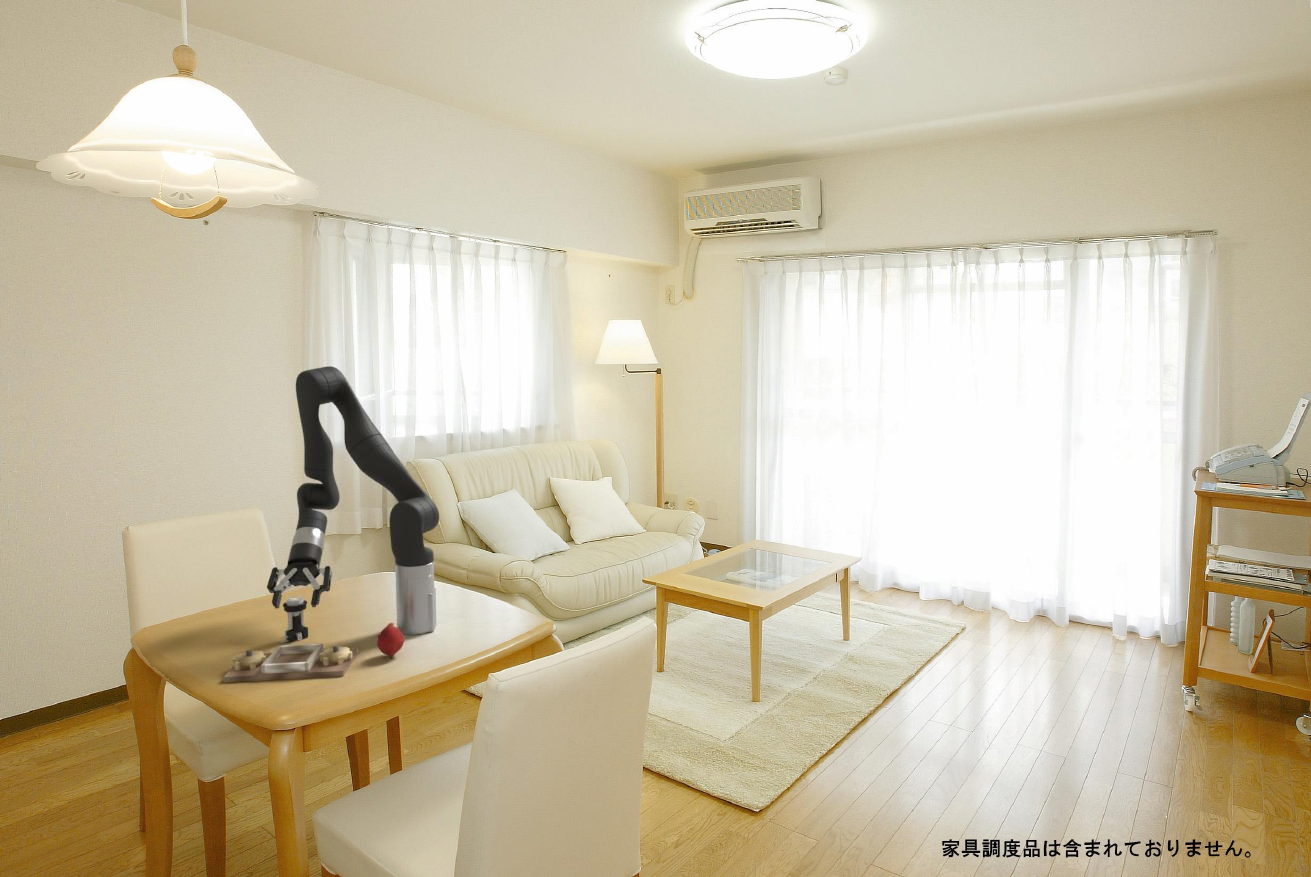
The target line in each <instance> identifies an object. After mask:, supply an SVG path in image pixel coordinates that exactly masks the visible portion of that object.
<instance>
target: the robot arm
mask: <svg viewBox="0 0 1311 877" xmlns="http://www.w3.org/2000/svg"><path fill="white" fill-rule="evenodd" d="M295 395H296V400H297V407H298V414H299V419H300V423H301V429H302V436H303V446H304V448H303V450H304V451H303V452H304V458H303V459H304V460H303V461H304V464H303V470H304V474H305V476H306V477H307V478H309V479H312V480H313V481H318V483H317V482H316V483H315V482H305V483H302V484H301V485H300V486H299V487H298V488H297V492H296V501H297V507H298V520H297V524H296V529H295V533H294V536H293V539H292V542H291V546H290V551H289V553H288V554H289V556H288V558H287V565H286V566H285V568H283V569H282V568H281V569H280V568H279V569H278V567H272V569H271V572H270V574H269V579H268V582H267V585H266V588H267V590H268V592H269V593H270V594H273V595H272V600H271V604H272V606H273V607H274V609H280V606H281V602H282V597H283V595H282V594H283V593H285V591H287V590H289V589H290V588H291V587H299V586H303V587H308V586H309V585H311V587H312V589H314V590H313V592H312V595H311V601H310V605H311V607H312V608H316V607H317V606H319V604H320V600H321V595H322V594H323V593H324V592H327V593H328V592H330V590H331V584H332V577H333V575H332V574H333V571H332V569H331V566H330V565H326V566H325V567H321V568H320V565H321V560H322V557H323V551H324V549H325V536H326V531H327V525H328V517H327V515H326V514H325V513H324V512H321V511H319V510H322V511H323V510H324V511H330V510H334V509H336V507H338V505H339V503H340V499H341V498H340V490H339V487H338V484H337V482H336V478H335V474H334V446H333V443H332V440H331V439H330V437H329V435H328V434H327V432H326V430H325V429H324V427H323V426H322V424H321V421H320V415H319V414H320V405H325V404H330V403H332V404H333V405H334V406H335V408H337V410H338V412H339V414H340V415H341V417H342V420H343V428H344V431H343V432H344V433H343V434H344V440H343V441H344V447H345V449H346V451H347V453H348V454H349V456H350V457H351V459H352V460H353V462H354V463H355V465H356V466H357V467H358V469H359V470H360V471H361V472H362V473H363V474H364V475H365V476H367V477H368V478H370V479H372V480H373V481H375V482H376V483H378V484H379V485H380V486H382V487H384V488H385V489H386V490H387V491H389V492H390V493H391V494H392V496H393V497H394V498H395V500H396V501H397V503H395V504H394V505H393V507H392V508H391V510H390V513H389V537H390V547H391V552H392V554H393V557H394V563H395V564H394V566H395V602H396V605H395V606H396V608H395V609H396V628H398V629H399V630H400V631H401V632H402V634H403V635H409V636H410V635H420V634H421V635H422V634H427V633H430V632H434V631H435V628H436V626H437V593H436V592H437V588H436V587H435V560H434V558H435V557H434V555H435V554H434V550H433V549H431V548H430V547H427V546H425V544H424V534H425V533H428V532H430V531H432V530H434V529H435V528H437V526H438V524H439V521H440V513H439V510H438V507H437V505H436V503H435V501H433V499H432V498H431V497H430V495H428V493H427V492H426V491H425V490H424V489H423V488H422V487H421V485H419V483H417V481H416V480H415V478H413V476H412V474H410V473H409V471H408V469H407V468H406V467H405V466H404V464H403V463H402V461H401V460H400V459H399V457H398V456H397V455H396V454H395V452H394V450H393V449H392V447H391V445H390V443H388V442H387V440H386V438H385V437H384V436H383V434H382V433H381V432H380V431H379V429H378V428H377V427H376V425H375V424H374V422H373V421H372V418H370V416H369V415H368V414H367V412H366V411H365V409H364V408H363V406H362V404H361V402H360V401H359V399H358V397H357V395H356V394H355V392H354V390H353V388H352V386H351V385H350V383H349V381H348V380H347V377H345V375H344V374H343V373H342V371H340V370H339V369H338V368H337V367H335V366H329V365H327V366H322V367H317V368H312V369H306V370H304V371H301V372H300V373H298V375H297V377H296V380H295ZM319 482H320V483H319ZM320 574H321V575H322V577H323V581H322V584H319V583H318V581H317V580H316V579H317V578H318V577H319V575H320ZM282 576H284V577H283V578H282ZM281 578H282V579H281ZM279 579H281V580H280V582H279V583H278V581H279Z"/></svg>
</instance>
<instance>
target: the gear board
mask: <svg viewBox="0 0 1311 877" xmlns="http://www.w3.org/2000/svg"><path fill="white" fill-rule="evenodd" d="M357 655H358V648H349V647H347V646H340V645H334V646H332V647H329V648H326V649H324V643H308V644H307V643H306V644H289V645H288V644H287V645H285V644H284V645H277V647H276V648H275V649H274V650H273V651H272V652H264V651H262V650H252V649H248V650H245V651H243V652H241V653H238V654H237V655H235V656H234V657H232V667H231V669H229V671H228V672H226V673H225V675H224V676H223V677H222V678H223V683H226V684H227V683H239V682H240V683H242V682H243V683H244V682H258V681H259V682H260V681H278V680H296V679H299V680H300V679H312V678H313V679H315V678H333V677H336V678H337V677H344V676H345V675H346V673H347V671H348V670H349V668H350V667H351V664H352V663H353V662H354V660H355V659H356V656H357Z"/></svg>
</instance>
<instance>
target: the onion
mask: <svg viewBox="0 0 1311 877" xmlns="http://www.w3.org/2000/svg"><path fill="white" fill-rule="evenodd" d="M404 643H405V636H404V634H402V632H401V631H400V630H399V629H398V628H397V626H395V625H394V622H393V621H391V622H389V623H388V624H386V626H385V627H384V628H383V629H381V631H380V632H379V634H378V635H377V639H376V646H377V648H378V650H379V652H381V653H382V654H383V655H385V656H388V657H389V658H390V657H394V656H395V655H396V654H397V653H398V652H399V651H401V649H402V648H403V646H404Z"/></svg>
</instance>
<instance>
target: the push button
mask: <svg viewBox="0 0 1311 877" xmlns="http://www.w3.org/2000/svg"><path fill="white" fill-rule="evenodd" d="M307 605H308V601H307V600H304V598H303V597H301V596H294V597H290V598H287V599H286V601H285V602H284V603H282V607H283V611H284V612H286V613H287V626H288V627H287V630H285V631H284V636H282V637H280V639H281V640H280V643H285V642H287V643H290V644H291V643H293V642H298V641H301V640H304V639H308V638H309V627H307V626H305V625H306V624H305V623H304V622H305V621H304V620H305V619H304V610H306V609H307ZM282 639H284V640H282Z"/></svg>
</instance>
